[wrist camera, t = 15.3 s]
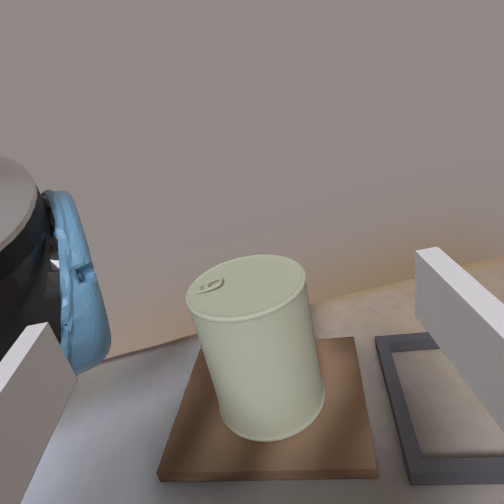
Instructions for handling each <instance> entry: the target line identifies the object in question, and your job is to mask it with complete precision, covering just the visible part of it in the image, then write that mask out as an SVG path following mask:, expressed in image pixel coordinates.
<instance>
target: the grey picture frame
mask: <svg viewBox="0 0 504 504" xmlns="http://www.w3.org/2000/svg"><path fill="white" fill-rule="evenodd" d="M375 341H376V349H377V353H378V357H379V360H380V364H381V368H382V372H383V376H384V380H385V384H386V388H387V392H388V396H389V400H390V404H391V408H392V412H393V416H394V420H395V424H396V428H397V432H398V436H399V440H400V444H401V448H402V452H403V456H404V460H405V464H406V468H407V472H408V476H409V480H410V484H411V485H462V484H504V457H477V458H435V459H422V456H421V452H420V449H419V446H418V442H417V439H416V435H415V432H414V429H413V425H412V422H411V419H410V415H409V412H408V409H407V405H406V402H405V398H404V395H403V392H402V388H401V385H400V382H399V378H398V375H397V371H396V368H395V365H394V361H393V358H392V355H391V352H401V351H415V350H428V349H440V347H439V346H438V345H437V343H436V342H435V341H434V339H433V338H432V337H431V335H430V334H429V333H428V332H425V333H413V334H401V335H388V336H376V337H375Z"/></svg>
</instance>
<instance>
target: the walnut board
mask: <svg viewBox="0 0 504 504" xmlns="http://www.w3.org/2000/svg"><path fill="white" fill-rule="evenodd" d="M315 345H316V351H317V357H318V363H319V368H320V373H321V378H322V380H323V383H324V386H325V401H324V405H323V408H322V410H321V412H320V414H319V415H318V417H317V418H316V419H315V420H314V422H313V423H312V424H311V425H310V426H308V427H307V428H306V429H305V430H303V431H301V432H300V433H298V434H296V435H294V436H292V437H289V438H287V439H283V440H279V441H273V442H258V441H252V440H248V439H245V438H242V437H240V436H238V435H237V434H235V433H234V432H232V431H231V430H230V429H229V428H228V427H227V426H226V424H225V423H224V421H223V419H222V417H221V414H220V410H219V402H218V398H217V395H216V391H215V388H214V385H213V382H212V378H211V375H210V372H209V369H208V366H207V363H206V359H205V356H204V353H203V350H202V349H200V351H199V354H198V357H197V360H196V363H195V366H194V368H193V371H192V374H191V377H190V380H189V383H188V385H187V388H186V391H185V394H184V397H183V400H182V402H181V405H180V408H179V411H178V414H177V416H176V419H175V422H174V425H173V428H172V431H171V433H170V436H169V439H168V442H167V445H166V448H165V450H164V453H163V456H162V459H161V462H160V465H159V467H158V470H157V475H158V478H159V480H160V482H176V481H241V480H306V479H370V478H378V471H377V464H376V459H375V453H374V448H373V442H372V436H371V431H370V425H369V420H368V414H367V409H366V403H365V397H364V392H363V386H362V381H361V375H360V370H359V364H358V359H357V353H356V347H355V342H354V337H344V338H332V339H320V340H315Z"/></svg>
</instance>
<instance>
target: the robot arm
mask: <svg viewBox="0 0 504 504" xmlns="http://www.w3.org/2000/svg"><path fill="white" fill-rule="evenodd" d="M415 253H416V254H415V256H416V257H415V259H416V260H415V262H416V264H415V270H416V271H415V274H416V275H415V276H416V277H415V315H416V317H417V318H418V319H419V321H420V322H421V323H422V325H423V326H424V327H425V329H426V330H427V331H428V333H429V334H430V335H431V337H432V338H433V339H434V341H435V342H436V343H437V345H438V346H439V347H440V349H441V350H442V351H443V353H444V354H445V355H446V357H447V358H448V359H449V361H450V362H451V363H452V365H453V366H454V367H455V369H456V370H457V371H458V373H459V374H460V375H461V377H462V378H463V379H464V381H465V382H466V383H467V385H468V386H469V387H470V389H471V390H472V391H473V393H474V394H475V395H476V397H477V398H478V399H479V401H480V402H481V403H482V405H483V406H484V407H485V409H486V410H487V411H488V413H489V414H490V415H491V417H492V418H493V419H494V421H495V422H496V423H497V425H498V426H499V427H500V429H501V430H502V431H503V433H504V304H503V303H502V302H500V301H499V300H498V299H497V298H496V297H495V296H493V295H492V294H491V293H490V292H489V291H488V290H487V289H485V288H484V287H483V286H482V285H481V284H480V283H479V282H477V281H476V280H475V279H474V278H473V277H472V276H471V275H469V274H468V273H467V272H466V271H465V270H464V269H462V268H461V267H460V266H459V265H458V264H457V263H456V262H454V261H453V260H452V259H451V258H450V257H449V256H448V255H446V254H445V253H444V252H443V251H442V250H441V249H439V248H438V247H433V248H428V249H423V250H417V251H415ZM93 269H94V267H93V263H92V260H91V256H90V251H89V247H88V244H87V240H86V237H85V234H84V230H83V227H82V224H81V221H80V218H79V214H78V211H77V209H76V206H75V203H74V200H73V198H72V196H71V195H70V194H69V193H68V192H66V191H52V190H46V191H44V192H43V193H41V194H40V192H39V191H38V188H37V186H36V184H35V182H34V180H33V178H32V177H31V175H30V174H29V173H28V171H27V170H26V169H25V168H24V167H23V166H22V165H21V164H19V163H17V162H16V161H14V160H11V159H9V158H6V157H3V156H0V504H20V503H21V501H22V499H23V496H24V494H25V492H26V490H27V488H28V486H29V483H30V481H31V479H32V477H33V475H34V473H35V470H36V468H37V466H38V464H39V462H40V460H41V457H42V455H43V453H44V451H45V449H46V446H47V444H48V442H49V440H50V438H51V436H52V433H53V431H54V429H55V427H56V425H57V423H58V420H59V418H60V416H61V414H62V412H63V410H64V407H65V405H66V403H67V401H68V399H69V397H70V394H71V392H72V390H73V388H74V386H75V384H76V381H77V377H76V375H78V374H80V373H83V372H85V371H87V370H89V369H91V368H93V367H95V366H97V365H98V364H99V363H101V362H102V361H103V360H104V358H105V357H106V355H107V354H108V352H109V349H110V346H111V334H110V328H109V323H108V318H107V314H106V310H105V306H104V302H103V298H102V295H101V291H100V288H99V284H98V281H97V277H96V274H95V273H94V270H93Z"/></svg>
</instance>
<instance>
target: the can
mask: <svg viewBox="0 0 504 504" xmlns="http://www.w3.org/2000/svg"><path fill="white" fill-rule="evenodd" d="M185 302H186V305H187V308H188V309H189V312H190V314H191V317H192V320H193V323H194V326H195V329H196V332H197V335H198V338H199V341H200V344H201V347H202V350H203V353H204V356H205V359H206V363H207V366H208V369H209V372H210V375H211V378H212V382H213V385H214V388H215V391H216V395H217V398H218V402H219V410H220V414H221V417H222V419H223V421H224V423H225V424H226V426H227V427H228V428H229V429H230V430H231V431H232V432H234V433H235V434H237V435H238V436H240V437H242V438H245V439H248V440H252V441H258V442H273V441H279V440H283V439H287V438H289V437H292V436H294V435H296V434H298V433H300V432H301V431H303V430H305V429H306V428H307V427H308V426H310V425H311V424H312V423H313V422H314V420H315V419H316V418H317V417H318V415H319V414H320V412H321V410H322V408H323V405H324V401H325V386H324V383H323V380H322V378H321V373H320V368H319V363H318V357H317V351H316V345H315V339H314V332H313V326H312V320H311V313H310V307H309V300H308V293H307V285H306V273H305V270H304V269H303V267H302V266H301V265H300V264H299V263H298V262H296V261H294V260H292V259H290V258H287V257H283V256H277V255H252V256H246V257H240V258H237V259H233V260H230V261H226V262H224V263H221V264H219V265H217V266H215V267H213V268H211V269H209V270H207V271H206V272H204V273H203V274H201V275H200V276H199V277H197V278H196V279H195V280H194V281H193V282H192V284H191V285H190V286H189V288H188V290H187V292H186V296H185Z"/></svg>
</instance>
